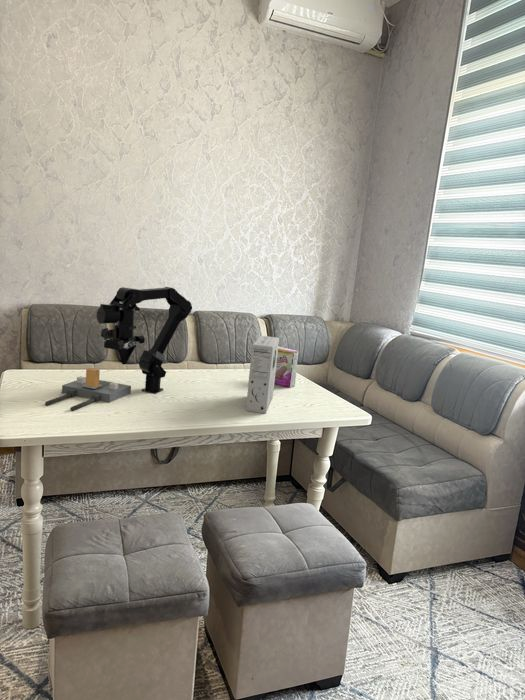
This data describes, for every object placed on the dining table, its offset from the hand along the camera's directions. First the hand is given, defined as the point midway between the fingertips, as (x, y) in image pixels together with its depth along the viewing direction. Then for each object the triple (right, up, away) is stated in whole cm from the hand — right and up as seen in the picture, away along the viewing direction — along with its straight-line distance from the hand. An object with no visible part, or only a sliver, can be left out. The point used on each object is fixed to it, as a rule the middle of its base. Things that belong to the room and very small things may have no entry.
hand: (123, 364), depth 188 cm
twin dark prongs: (-15, -13, -11) cm, 23 cm away
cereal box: (+50, -16, +9) cm, 54 cm away
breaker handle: (-11, -8, -2) cm, 14 cm away
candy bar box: (+60, -11, +41) cm, 73 cm away
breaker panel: (-11, -11, +2) cm, 15 cm away
